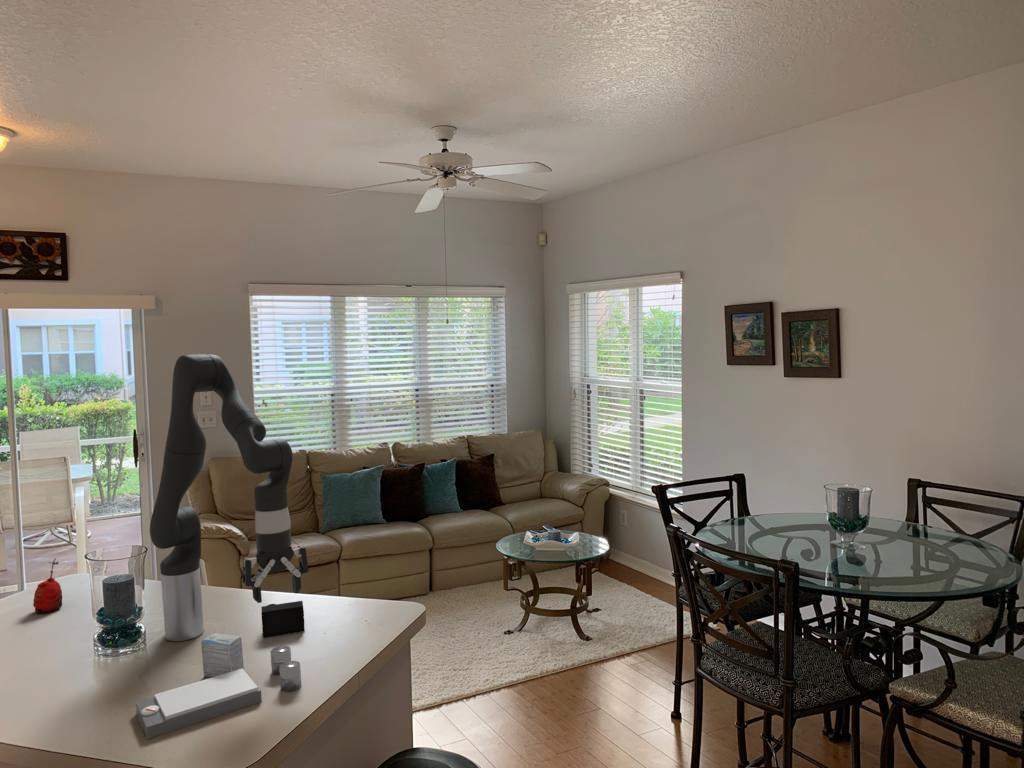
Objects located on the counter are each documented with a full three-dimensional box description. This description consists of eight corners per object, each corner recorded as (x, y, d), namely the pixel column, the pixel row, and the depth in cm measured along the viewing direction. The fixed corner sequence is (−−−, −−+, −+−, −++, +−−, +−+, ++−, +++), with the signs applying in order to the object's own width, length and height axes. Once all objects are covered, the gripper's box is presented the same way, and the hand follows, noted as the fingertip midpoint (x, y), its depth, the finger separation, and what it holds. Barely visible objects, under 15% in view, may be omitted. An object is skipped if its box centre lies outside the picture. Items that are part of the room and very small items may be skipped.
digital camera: (304, 623, 193) (302, 598, 193) (305, 631, 188) (303, 605, 188) (263, 630, 190) (261, 604, 190) (262, 638, 185) (261, 612, 184)
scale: (136, 713, 150) (135, 699, 150) (245, 680, 163) (244, 666, 163) (147, 739, 140) (146, 723, 140) (261, 701, 153) (260, 687, 153)
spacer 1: (269, 670, 167) (267, 649, 167) (287, 664, 170) (286, 644, 170) (275, 677, 164) (274, 656, 163) (294, 671, 166) (293, 650, 166)
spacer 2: (277, 686, 160) (276, 664, 159) (297, 680, 162) (296, 658, 162) (284, 694, 156) (283, 672, 156) (304, 687, 159) (303, 665, 158)
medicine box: (244, 672, 167) (242, 635, 166) (231, 681, 163) (228, 644, 162) (217, 668, 169) (214, 632, 169) (203, 677, 165) (200, 640, 165)
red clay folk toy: (43, 605, 213) (39, 556, 212) (68, 603, 214) (64, 554, 212) (29, 616, 205) (24, 564, 204) (55, 614, 206) (51, 562, 205)
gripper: (297, 518, 171) (302, 585, 173) (235, 530, 163) (240, 600, 164) (309, 524, 165) (313, 593, 167) (245, 537, 157) (250, 610, 158)
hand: (277, 597), depth 165 cm, fingers open, 8 cm apart
